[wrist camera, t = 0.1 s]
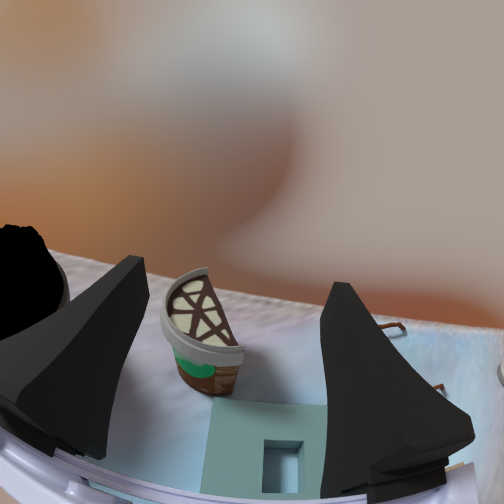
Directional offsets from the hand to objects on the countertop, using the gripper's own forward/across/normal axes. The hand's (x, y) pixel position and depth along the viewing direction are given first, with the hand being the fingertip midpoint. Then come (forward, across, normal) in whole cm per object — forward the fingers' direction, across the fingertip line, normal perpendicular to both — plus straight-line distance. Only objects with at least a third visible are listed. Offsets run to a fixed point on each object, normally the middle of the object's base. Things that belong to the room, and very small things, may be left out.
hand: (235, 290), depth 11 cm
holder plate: (-3, -6, +22) cm, 22 cm away
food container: (+9, +4, +23) cm, 25 cm away
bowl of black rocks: (+3, +26, +22) cm, 34 cm away
